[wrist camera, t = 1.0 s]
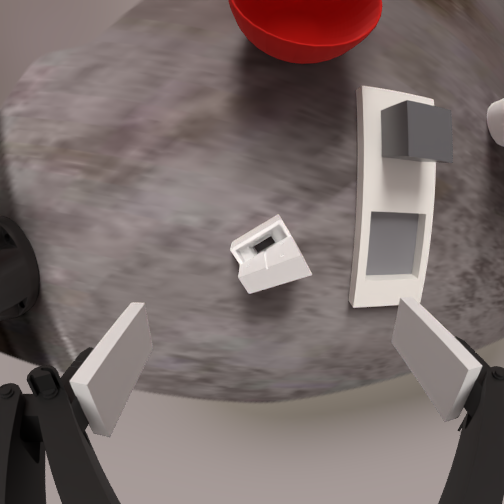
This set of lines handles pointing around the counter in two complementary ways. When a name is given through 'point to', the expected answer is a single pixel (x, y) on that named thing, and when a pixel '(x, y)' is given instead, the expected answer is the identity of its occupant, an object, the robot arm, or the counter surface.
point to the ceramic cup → (306, 26)
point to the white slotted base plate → (395, 193)
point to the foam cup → (496, 121)
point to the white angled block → (268, 257)
